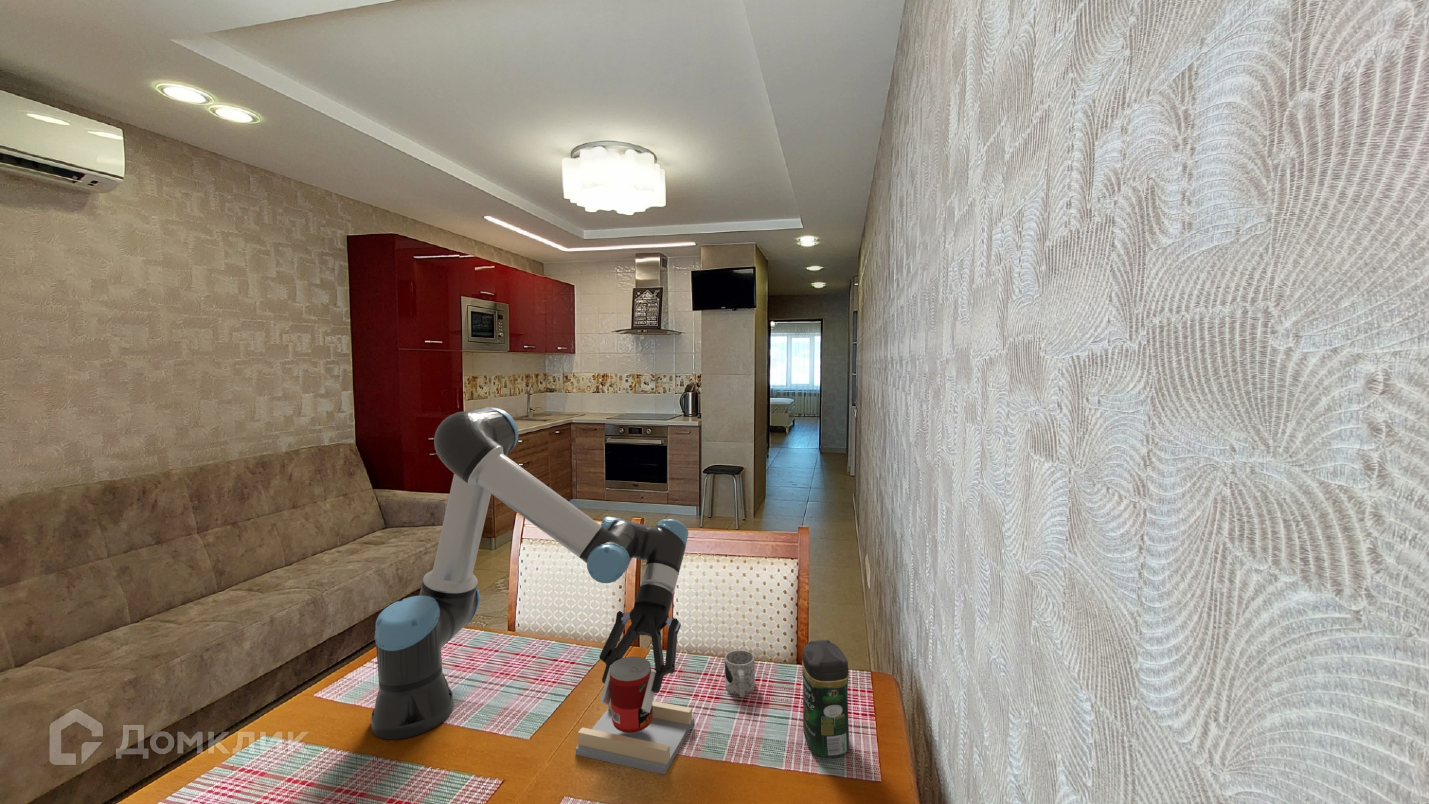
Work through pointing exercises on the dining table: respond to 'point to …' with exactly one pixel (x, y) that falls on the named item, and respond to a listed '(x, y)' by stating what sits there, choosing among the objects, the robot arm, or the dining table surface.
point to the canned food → (629, 694)
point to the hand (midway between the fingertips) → (624, 706)
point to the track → (639, 739)
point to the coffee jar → (825, 698)
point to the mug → (739, 672)
